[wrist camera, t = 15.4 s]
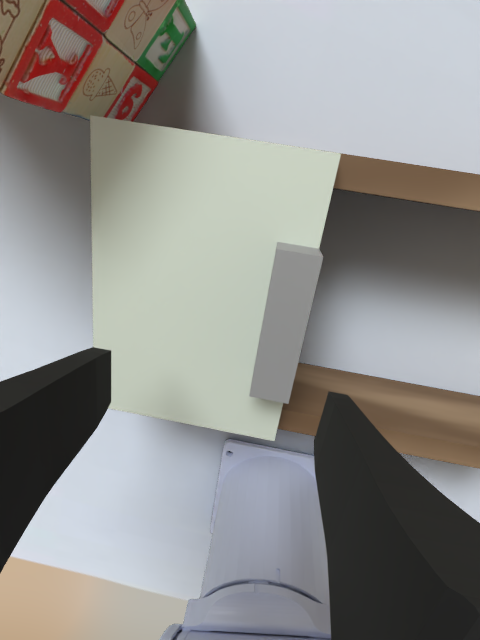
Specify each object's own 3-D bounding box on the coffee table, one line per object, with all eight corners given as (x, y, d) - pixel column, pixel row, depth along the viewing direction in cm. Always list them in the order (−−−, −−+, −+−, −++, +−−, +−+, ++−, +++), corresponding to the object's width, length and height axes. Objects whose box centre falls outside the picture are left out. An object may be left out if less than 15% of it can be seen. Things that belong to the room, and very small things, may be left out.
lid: (274, 430, 18) (273, 466, 15) (101, 396, 18) (76, 426, 16) (338, 155, 13) (349, 149, 11) (100, 119, 13) (64, 106, 11)
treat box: (486, 414, 22) (544, 481, 17) (147, 350, 23) (111, 396, 18) (593, 202, 17) (716, 210, 12) (159, 136, 18) (113, 118, 14)
